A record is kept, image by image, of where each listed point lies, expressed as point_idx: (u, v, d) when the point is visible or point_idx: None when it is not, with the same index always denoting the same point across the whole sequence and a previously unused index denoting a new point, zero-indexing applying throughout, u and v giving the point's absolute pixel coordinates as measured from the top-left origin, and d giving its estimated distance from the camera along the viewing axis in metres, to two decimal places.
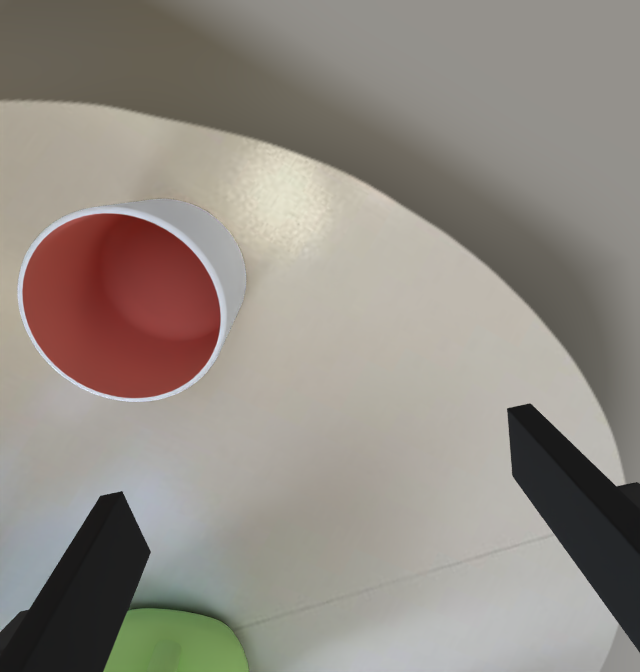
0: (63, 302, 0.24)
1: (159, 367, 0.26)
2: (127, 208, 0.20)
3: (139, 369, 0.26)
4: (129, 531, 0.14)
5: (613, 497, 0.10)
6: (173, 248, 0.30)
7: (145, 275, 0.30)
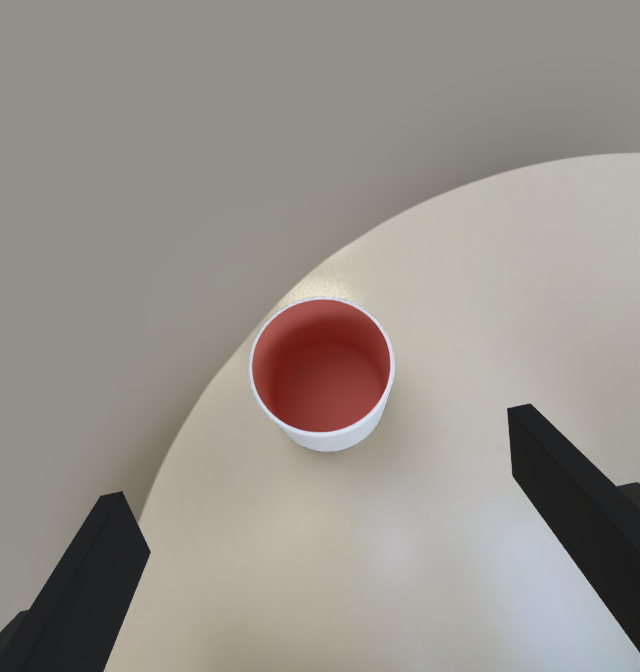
0: None
1: None
2: (264, 325, 0.31)
3: None
4: (129, 531, 0.14)
5: (613, 497, 0.10)
6: (311, 387, 0.39)
7: (319, 417, 0.38)
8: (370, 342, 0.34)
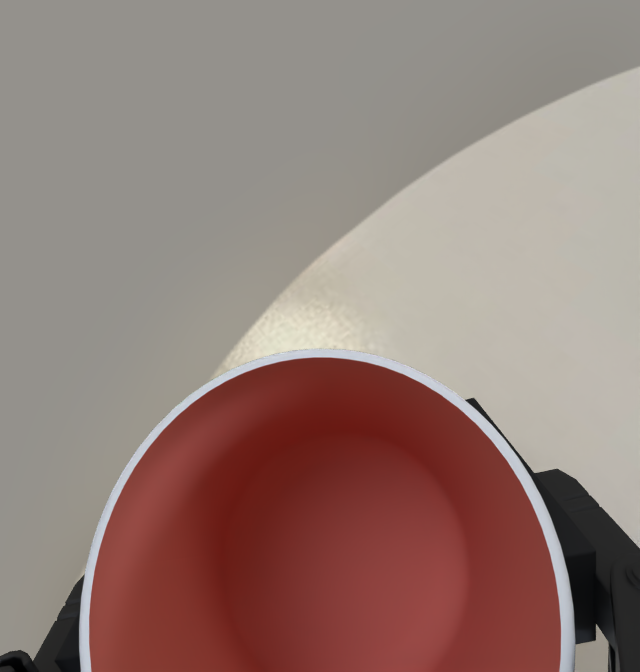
0: None
1: (500, 628, 0.11)
2: (132, 457, 0.10)
3: None
4: None
5: None
6: (305, 537, 0.18)
7: (332, 611, 0.17)
8: (432, 442, 0.14)
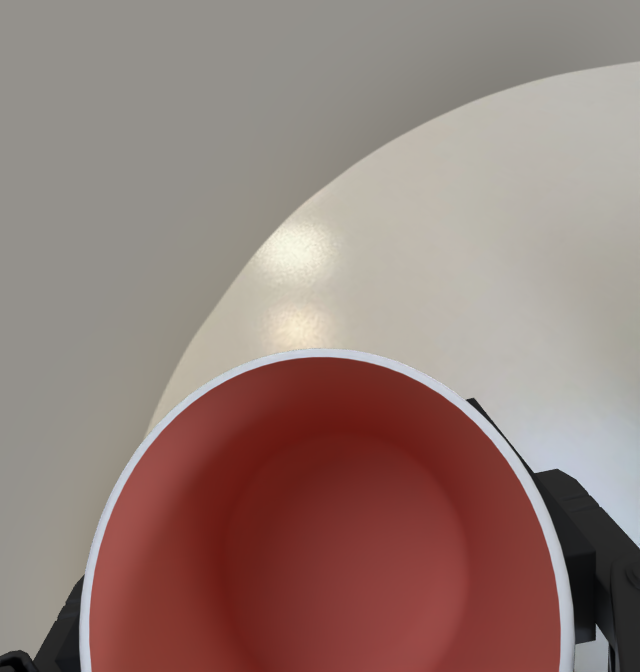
0: None
1: (500, 628, 0.11)
2: (132, 457, 0.10)
3: None
4: None
5: None
6: (305, 536, 0.18)
7: (332, 611, 0.17)
8: (432, 442, 0.14)
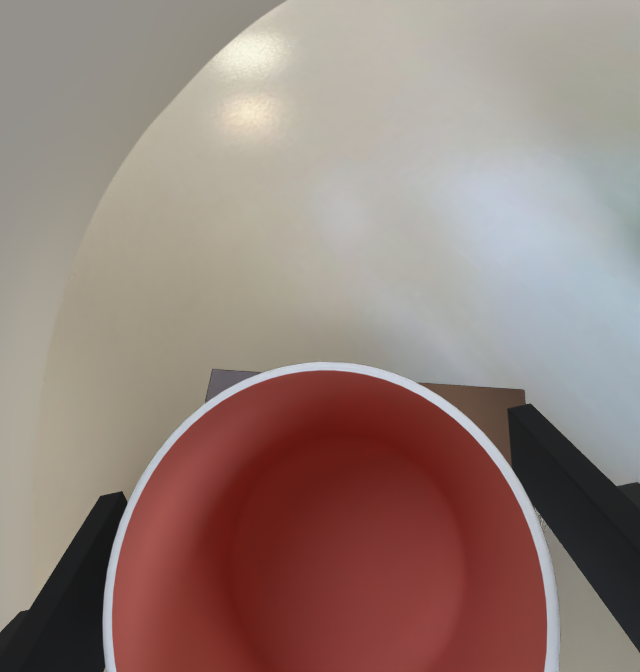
0: None
1: (494, 624, 0.12)
2: (149, 464, 0.11)
3: (488, 670, 0.11)
4: None
5: (613, 497, 0.10)
6: (309, 538, 0.19)
7: (335, 610, 0.17)
8: (431, 448, 0.15)
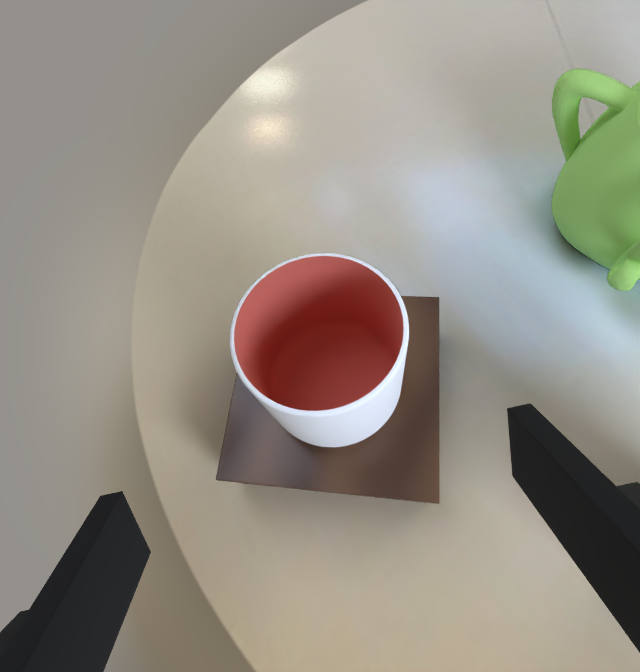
0: None
1: None
2: (244, 295, 0.25)
3: None
4: (129, 531, 0.14)
5: (613, 497, 0.10)
6: (312, 376, 0.33)
7: (327, 409, 0.32)
8: (374, 307, 0.29)
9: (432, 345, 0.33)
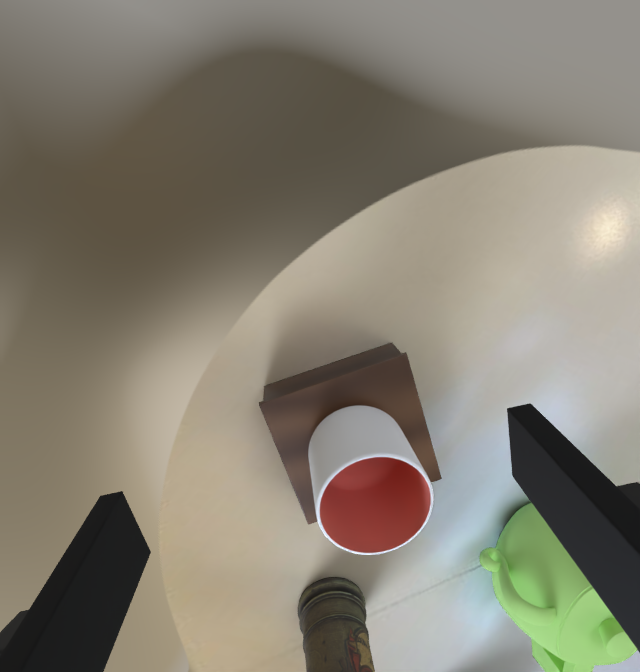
0: None
1: (369, 520, 0.41)
2: (382, 452, 0.35)
3: (359, 524, 0.40)
4: (129, 531, 0.14)
5: (613, 497, 0.10)
6: None
7: None
8: (410, 486, 0.41)
9: None
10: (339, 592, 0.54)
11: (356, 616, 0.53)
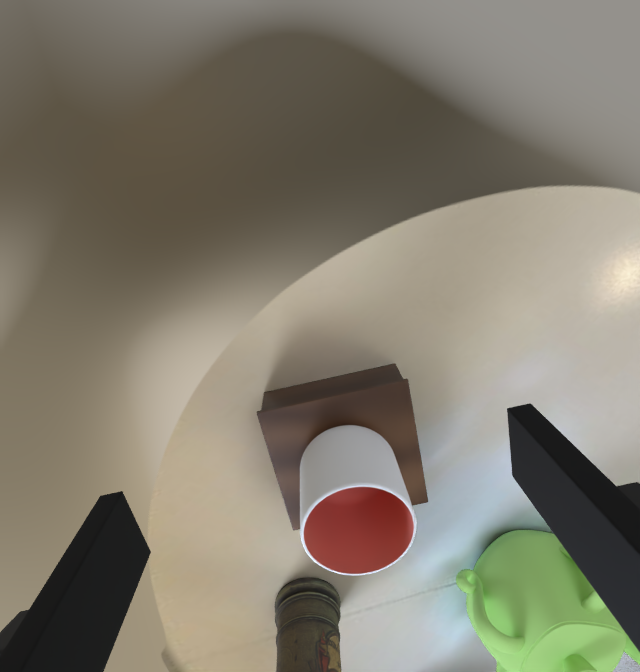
0: None
1: (351, 539, 0.42)
2: (371, 483, 0.35)
3: (342, 542, 0.41)
4: (129, 531, 0.14)
5: (613, 497, 0.10)
6: None
7: None
8: (395, 511, 0.42)
9: None
10: (316, 593, 0.56)
11: (330, 619, 0.54)
